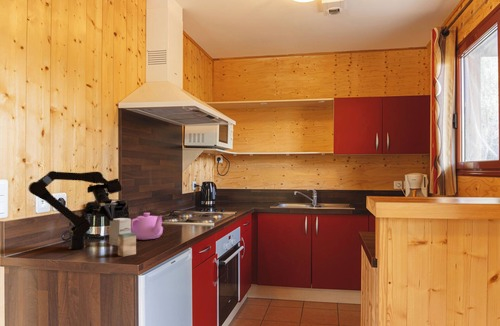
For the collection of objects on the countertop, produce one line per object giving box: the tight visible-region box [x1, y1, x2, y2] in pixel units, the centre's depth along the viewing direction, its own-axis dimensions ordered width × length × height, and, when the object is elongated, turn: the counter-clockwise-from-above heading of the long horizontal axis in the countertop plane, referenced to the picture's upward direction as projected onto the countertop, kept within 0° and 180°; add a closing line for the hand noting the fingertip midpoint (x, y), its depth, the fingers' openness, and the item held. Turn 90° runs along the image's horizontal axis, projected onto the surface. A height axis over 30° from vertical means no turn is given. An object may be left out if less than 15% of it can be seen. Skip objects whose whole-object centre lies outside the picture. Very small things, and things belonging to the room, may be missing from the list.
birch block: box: [117, 232, 137, 257], centre depth 159 cm, size 4×6×9 cm
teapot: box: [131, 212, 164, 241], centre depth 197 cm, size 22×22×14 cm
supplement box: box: [108, 217, 132, 247], centre depth 181 cm, size 7×7×13 cm
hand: (112, 220), depth 168 cm, fingers closed
